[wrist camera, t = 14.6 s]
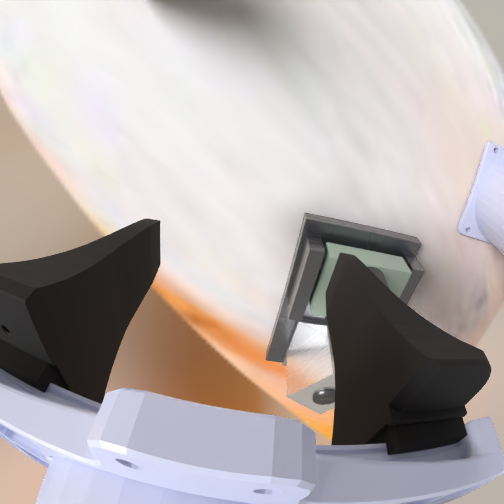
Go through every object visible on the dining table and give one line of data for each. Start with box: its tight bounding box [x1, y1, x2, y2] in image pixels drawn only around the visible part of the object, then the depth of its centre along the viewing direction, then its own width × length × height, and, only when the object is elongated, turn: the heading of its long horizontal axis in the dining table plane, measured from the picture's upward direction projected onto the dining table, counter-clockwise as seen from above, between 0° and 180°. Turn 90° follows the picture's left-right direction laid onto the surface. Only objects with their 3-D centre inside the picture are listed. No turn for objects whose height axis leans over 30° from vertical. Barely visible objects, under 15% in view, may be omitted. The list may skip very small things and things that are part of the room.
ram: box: [309, 242, 412, 316], centre depth 18 cm, size 6×5×6 cm
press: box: [266, 213, 424, 366], centre depth 23 cm, size 9×15×3 cm, turn 171°
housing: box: [287, 326, 335, 414], centre depth 23 cm, size 4×4×5 cm
